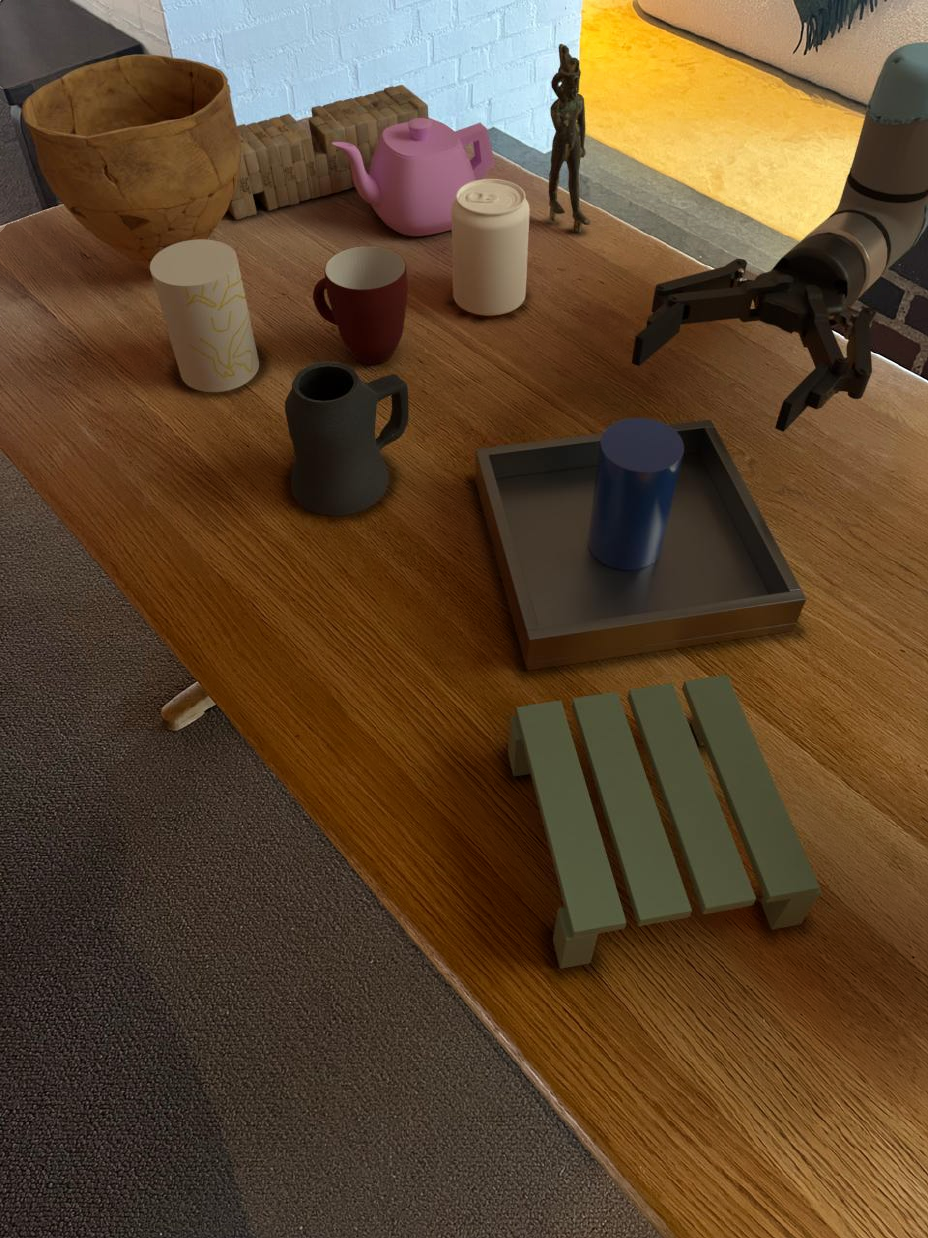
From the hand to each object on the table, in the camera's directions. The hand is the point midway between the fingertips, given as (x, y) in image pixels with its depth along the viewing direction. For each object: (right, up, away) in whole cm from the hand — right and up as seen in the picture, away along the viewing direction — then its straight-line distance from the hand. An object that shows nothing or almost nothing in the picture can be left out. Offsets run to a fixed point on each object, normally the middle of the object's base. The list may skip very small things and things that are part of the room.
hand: (707, 383), depth 78 cm
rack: (-7, -34, -12) cm, 37 cm away
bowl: (-54, +21, +34) cm, 67 cm away
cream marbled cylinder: (-45, +7, +22) cm, 51 cm away
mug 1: (-30, +9, +24) cm, 40 cm away
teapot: (-25, +31, +41) cm, 58 cm away
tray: (-6, -13, +5) cm, 15 cm away
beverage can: (-17, +16, +30) cm, 38 cm away
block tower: (-39, +38, +47) cm, 71 cm away
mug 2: (-30, -6, +11) cm, 33 cm away
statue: (-7, +28, +39) cm, 49 cm away
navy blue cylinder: (-6, -13, +4) cm, 15 cm away
